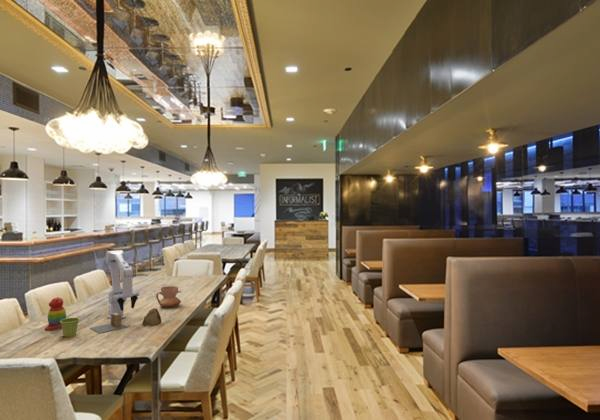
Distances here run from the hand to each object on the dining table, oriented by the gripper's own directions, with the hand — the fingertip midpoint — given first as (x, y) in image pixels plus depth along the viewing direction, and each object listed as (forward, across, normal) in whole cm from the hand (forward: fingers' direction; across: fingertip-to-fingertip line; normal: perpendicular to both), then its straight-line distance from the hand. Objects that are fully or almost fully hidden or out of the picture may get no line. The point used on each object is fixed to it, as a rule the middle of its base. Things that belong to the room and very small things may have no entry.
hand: (127, 309), depth 230 cm
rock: (+9, +10, -11) cm, 17 cm away
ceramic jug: (+9, +39, +18) cm, 44 cm away
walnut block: (+8, -7, -1) cm, 11 cm away
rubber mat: (+9, -11, 0) cm, 14 cm away
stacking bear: (+9, -31, +25) cm, 41 cm away
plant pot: (+9, -31, +3) cm, 32 cm away
